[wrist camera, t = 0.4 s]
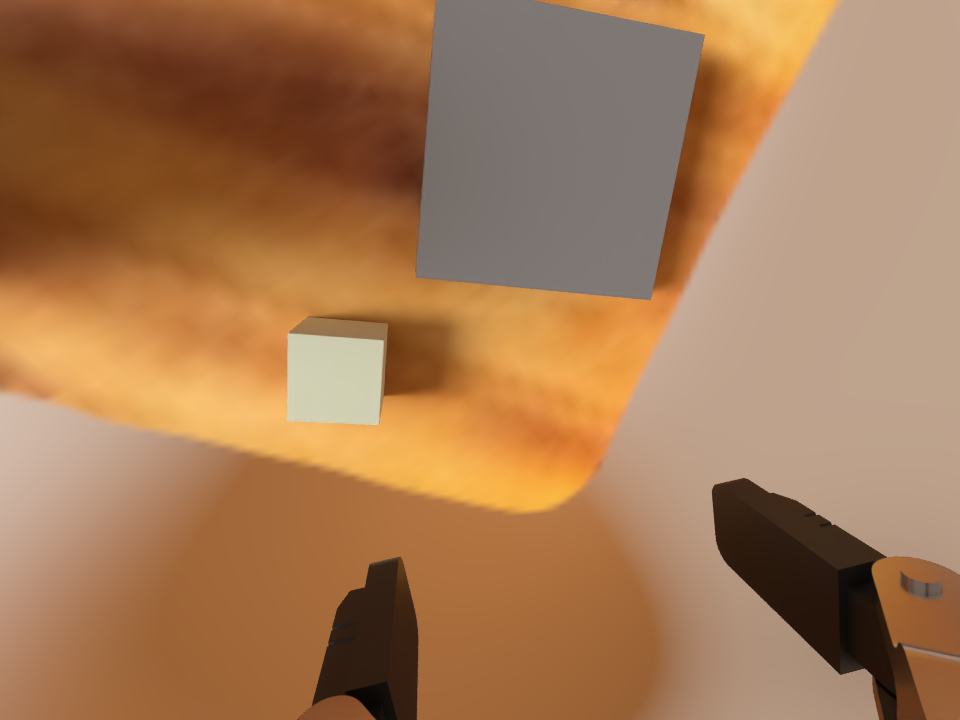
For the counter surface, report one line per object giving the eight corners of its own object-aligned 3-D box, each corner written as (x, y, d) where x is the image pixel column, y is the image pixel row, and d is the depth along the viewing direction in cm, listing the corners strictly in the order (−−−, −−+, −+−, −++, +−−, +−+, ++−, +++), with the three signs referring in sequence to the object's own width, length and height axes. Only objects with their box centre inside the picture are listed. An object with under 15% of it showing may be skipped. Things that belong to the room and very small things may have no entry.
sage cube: (307, 316, 30) (287, 333, 25) (388, 323, 30) (383, 340, 26) (306, 391, 31) (287, 420, 26) (383, 395, 32) (378, 425, 27)
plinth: (434, 17, 26) (437, -19, 22) (665, 60, 28) (704, 34, 24) (415, 271, 30) (415, 277, 26) (622, 291, 32) (650, 300, 28)
